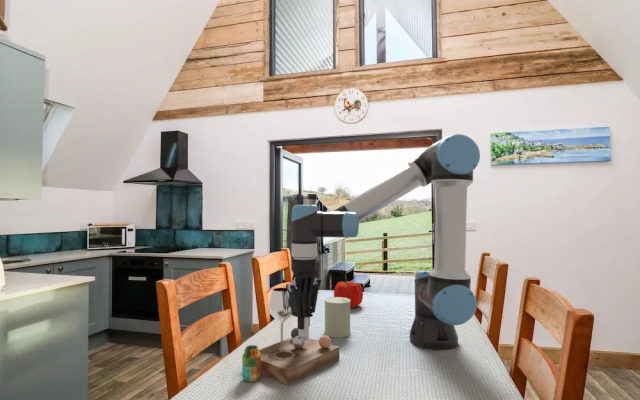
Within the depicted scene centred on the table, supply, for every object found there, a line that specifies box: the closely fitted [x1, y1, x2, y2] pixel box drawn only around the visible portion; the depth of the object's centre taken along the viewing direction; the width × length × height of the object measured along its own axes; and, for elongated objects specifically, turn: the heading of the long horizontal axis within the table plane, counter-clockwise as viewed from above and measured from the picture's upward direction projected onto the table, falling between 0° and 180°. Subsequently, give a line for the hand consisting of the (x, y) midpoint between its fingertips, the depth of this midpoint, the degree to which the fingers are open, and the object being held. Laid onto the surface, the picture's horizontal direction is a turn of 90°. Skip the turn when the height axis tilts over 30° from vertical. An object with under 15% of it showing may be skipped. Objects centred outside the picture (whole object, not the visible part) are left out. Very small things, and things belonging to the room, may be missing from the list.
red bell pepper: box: [333, 280, 364, 309], centre depth 169 cm, size 14×13×10 cm
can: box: [323, 296, 351, 339], centre depth 132 cm, size 9×9×12 cm
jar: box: [241, 344, 261, 383], centre depth 95 cm, size 5×5×8 cm
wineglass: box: [268, 287, 293, 342], centre depth 118 cm, size 8×8×18 cm
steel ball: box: [292, 336, 305, 349], centre depth 107 cm, size 4×4×4 cm
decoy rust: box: [318, 334, 332, 348], centre depth 107 cm, size 4×4×4 cm
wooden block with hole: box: [259, 337, 340, 386], centre depth 105 cm, size 16×21×4 cm
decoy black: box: [290, 327, 299, 339], centre depth 114 cm, size 4×4×4 cm
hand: (303, 339), depth 109 cm, fingers closed
